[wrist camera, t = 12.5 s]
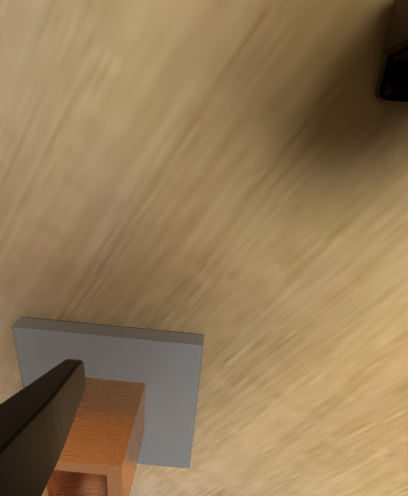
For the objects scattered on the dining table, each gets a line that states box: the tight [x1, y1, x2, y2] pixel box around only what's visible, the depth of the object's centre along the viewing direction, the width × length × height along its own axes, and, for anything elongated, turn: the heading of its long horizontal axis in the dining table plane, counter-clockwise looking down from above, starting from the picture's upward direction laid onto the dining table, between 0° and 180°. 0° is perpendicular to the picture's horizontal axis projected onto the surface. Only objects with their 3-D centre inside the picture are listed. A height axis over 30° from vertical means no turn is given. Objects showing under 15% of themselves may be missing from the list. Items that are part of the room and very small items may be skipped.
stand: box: [12, 317, 204, 468], centre depth 22 cm, size 14×14×5 cm
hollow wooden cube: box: [42, 377, 145, 496], centre depth 20 cm, size 6×6×6 cm
